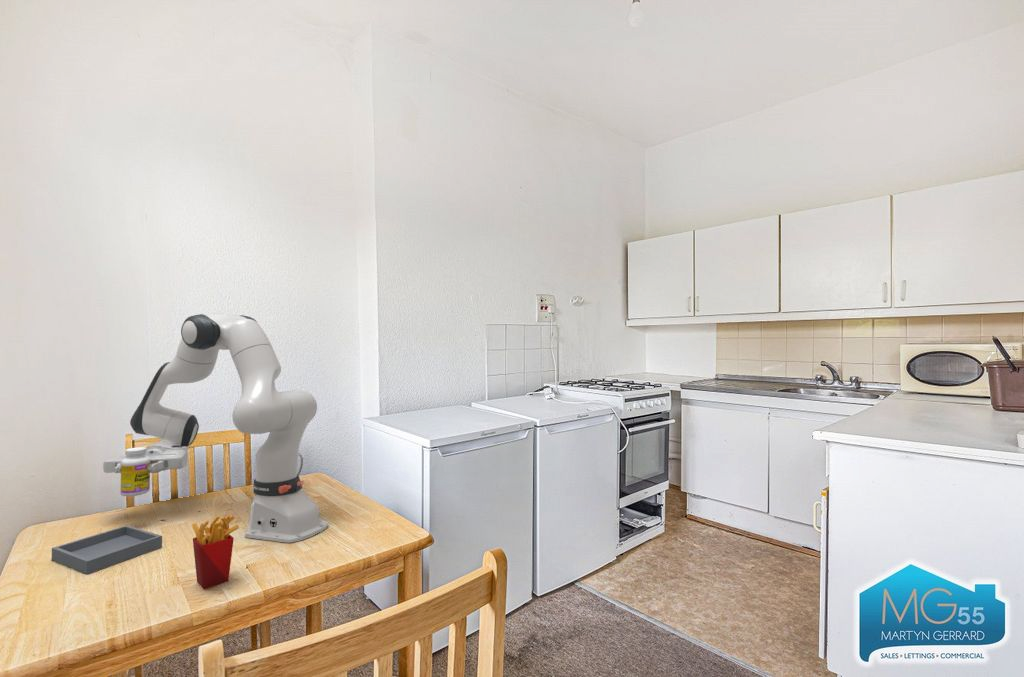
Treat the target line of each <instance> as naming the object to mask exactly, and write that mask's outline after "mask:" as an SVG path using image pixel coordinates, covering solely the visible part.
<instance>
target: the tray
mask: <svg viewBox="0 0 1024 677" xmlns="http://www.w3.org/2000/svg"><path fill="white" fill-rule="evenodd" d="M161 547H162V548H163V535H160V534H157V533H154V532H151V531H147V530H144V529H141V528H138V527H134V526H131V525H128V524H127V525H124V526H120V527H118V528H117V527H115V528H113V529H110V530H107V531H104V532H100V533H96V534H94V535H90V536H87V537H83V538H80V539H76V540H74V541H70V542H67V543H65V544H60V545H56V546H55V547H52V548H51V561H52V560H53V562H56V563H58V564H60V565H62V566H65V567H66V568H67V567H68V568H69V569H71V570H72V569H73V571H74V570H75V571H77V572H79V573H82V574H85V575H89V574H92V573H94V572H98V571H100V570H103V569H106V568H109V567H111V566H114V565H116V564H120V563H123V562H125V561H128V560H130V559H133V558H134V559H135V558H136V557H139V556H142V555H144V554H148V553H150V552H153V551H156V550H158V549H161Z"/></svg>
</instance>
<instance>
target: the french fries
mask: <svg viewBox="0 0 1024 677" xmlns="http://www.w3.org/2000/svg"><path fill="white" fill-rule="evenodd" d="M235 518H236V516H235V515H230V514H228V515H227V516H226V517H225V516H221V515H218V514H217V515H216V516H215V517H214V519H213V520H212V522H211V520H210V519H207V520H205V522H200V526H198V524H197V522H194V523H192V524H191V526H192V529H193V530H194V534H195V537H192V545H193V555H194V564H195V565H194V566H195V573H196V583H197V584H199V586H200V587H201V589H203V590H207V589H210V588H213V587H217V586H218V585H222V584H224V583H225V584H226V583H228V582H229V579H230V571H231V565H232V564H231V563H232V556H233V547H234V539H235V538H234V537H233V536H232V535H231V534H232V533H234V532H236V531H237V530H238V529H240V526H239V524H235V525H234V526H231V527H230V525H229V524H230V523H231V522H232V521H233V520H234V519H235ZM219 519H220V520H221V521H220V520H219ZM210 522H211V523H210ZM209 523H210V525H209ZM208 525H209V526H208Z"/></svg>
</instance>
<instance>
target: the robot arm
mask: <svg viewBox="0 0 1024 677" xmlns="http://www.w3.org/2000/svg"><path fill="white" fill-rule="evenodd" d="M180 332H181V333H180V335H181V339H180V342H179V344H178V347H177V350H176V352H175V353H176V354H175V356H174V358H173V359H172V360H171V361H168V362H164V363H163V364H162V365H161V366H160V368H158V370H157V371H156V373H155V374H154V377H152V380H151V382H150V384H149V386H148V388H147V390H146V391H145V393H144V396H143V398H142V399H141V402H140V403H139V405H138V406H137V408H136V409H135V411H134V412H133V414H132V416H131V418H130V421H129V425H130V426H131V428H132V430H133V431H134V432H135V434H138V435H144V436H151V437H155V438H158V439H160V440H158V441H156V442H154V443H151V444H149V445H147V446H144V447H145V448H146V453H145V456H148V457H149V458H150V465H148V467H147V468H148V470H147V471H150V474H156V473H160V472H162V471H163V472H165V471H168V470H181V469H183V468H185V467H187V466H188V460H189V456H188V454H189V453H188V451H189V447H190V446H191V445H192V444H193V443H194V441H195V440H196V437H197V434H198V432H199V428H200V426H199V422H198V419H197V417H196V415H194V414H191V413H188V412H184V411H180V410H176V409H172V408H168V407H165V406H162V404H161V403H160V402H161V400H162V398H163V396H164V394H165V392H166V389H167V388H168V386H169V385H176V384H193V383H197V382H200V381H201V382H202V381H204V380H205V379H207V378H208V377H209V376H210V375H211V374H212V373H213V371H214V369H215V366H216V363H217V359H218V355H219V352H220V350H222V351H225V350H226V351H227V350H229V354H230V356H231V359H232V361H233V364H234V366H235V369H236V371H237V374H238V377H239V379H240V383H241V384H240V385H241V396H240V398H239V400H238V401H237V403H236V404H235V405H234V407H233V409H232V422H233V424H234V426H235V428H236V430H238V431H239V432H240V433H242V434H248V435H262V434H266V433H269V434H268V436H267V437H266V440H265V441H264V443H262V445H261V446H260V447H259V448H258V449H257V451H256V453H255V470H254V471H255V475H254V476H255V478H254V479H253V484H252V488H253V489H252V491H253V493H254V496H253V500H252V503H251V505H250V511H249V512H250V513H249V520H248V521H249V522H248V527H247V530H246V531H245V535H244V537H245V538H249V539H256V540H264V541H270V542H280V543H288V544H290V543H291V544H292V543H296V542H300V541H302V540H305V539H308V538H312V537H314V536H316V535H318V534H320V533H322V532H323V531H324V529H325V530H326V529H327V528H328V527H327V526H329V522H327V521H325V520H323V519H321V518H320V510H319V507H318V505H317V504H316V501H315V500H312V499H311V497H309V495H308V494H307V493H306V492H305V491H304V490H303V486H302V485H305V483H304V482H305V480H304V479H303V480H301V479H300V474H299V475H298V468H299V467H298V465H299V463H298V461H299V460H298V459H299V455H298V453H299V451H300V445H301V441H302V437H303V436H304V433H305V430H306V428H307V426H308V425H309V423H310V422H311V421H312V420H313V419H314V418H315V416H316V414H317V411H318V404H317V401H316V400H317V399H316V398H315V397H314V395H313V394H312V393H311V392H308V391H303V390H294V389H293V390H285V391H280V392H279V391H278V390H277V389H276V384H275V381H276V380H277V378H278V377H279V376H280V375H281V372H282V371H281V370H282V367H281V364H280V362H279V359H278V357H277V355H276V352H275V350H274V347H273V345H272V343H271V341H270V340H269V338H268V336H267V334H266V332H265V331H264V329H263V328H262V326H261V325H260V323H258V321H257V320H256V319H255V318H253V317H251V316H248V315H244V314H242V315H236V314H235V315H234V314H224V313H211V314H210V313H209V314H203V313H201V314H195V315H190V316H188V317H186V319H185V320H184V321H183V323H182V326H181V330H180ZM125 458H126V454H125V455H124V454H121V455H116V456H114V457H110V458H108V459H105V460H104V461H103V463H102V464H103V465H102V466H103V467H102V469H103V470H102V471H103V472H104V473H105V474H106V473H107V474H108V473H114V474H121V462H122V460H123V459H125ZM319 532H320V533H319ZM317 533H318V534H317ZM315 534H316V535H315Z"/></svg>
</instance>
